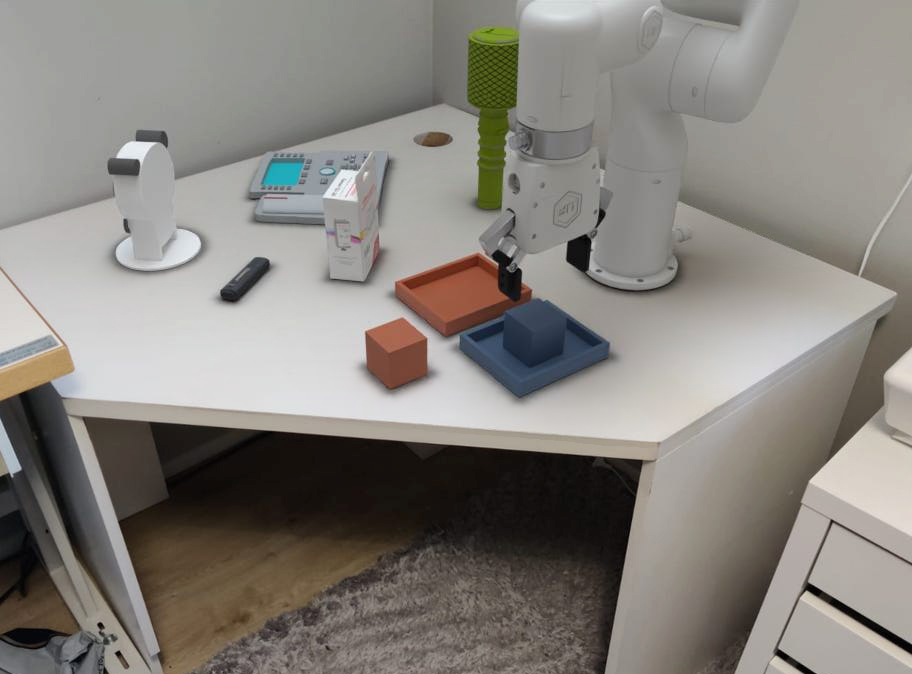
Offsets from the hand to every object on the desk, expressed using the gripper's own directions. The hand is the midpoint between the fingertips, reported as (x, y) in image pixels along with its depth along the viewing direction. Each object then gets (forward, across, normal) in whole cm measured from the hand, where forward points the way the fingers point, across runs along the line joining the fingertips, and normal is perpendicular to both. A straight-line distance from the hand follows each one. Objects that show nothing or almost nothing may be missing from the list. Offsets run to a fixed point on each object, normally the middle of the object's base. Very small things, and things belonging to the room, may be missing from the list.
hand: (543, 280), depth 98 cm
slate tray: (+9, -1, 0) cm, 9 cm away
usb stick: (+9, -22, +32) cm, 40 cm away
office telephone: (+10, -1, +52) cm, 52 cm away
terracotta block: (+9, -16, +6) cm, 19 cm away
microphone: (+11, +18, +32) cm, 39 cm away
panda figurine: (+9, -28, +48) cm, 56 cm away
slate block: (+9, -2, -1) cm, 9 cm away
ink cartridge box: (+10, -8, +28) cm, 31 cm away
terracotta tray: (+9, -1, +14) cm, 17 cm away
